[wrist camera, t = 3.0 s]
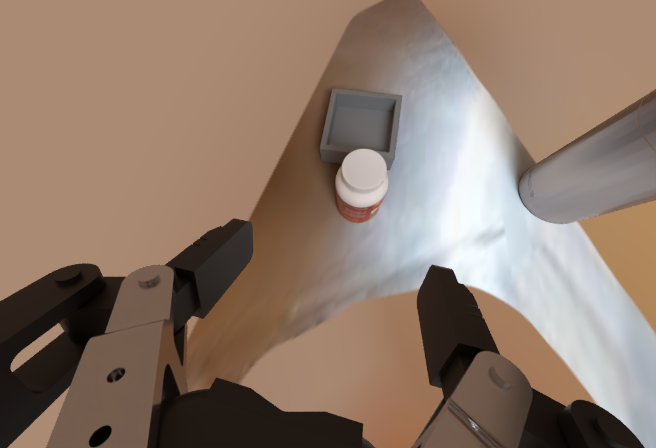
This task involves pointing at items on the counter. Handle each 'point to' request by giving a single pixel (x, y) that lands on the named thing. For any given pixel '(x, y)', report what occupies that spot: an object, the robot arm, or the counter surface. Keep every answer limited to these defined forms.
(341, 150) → the charcoal bin
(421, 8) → the counter surface
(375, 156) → the pill bottle
